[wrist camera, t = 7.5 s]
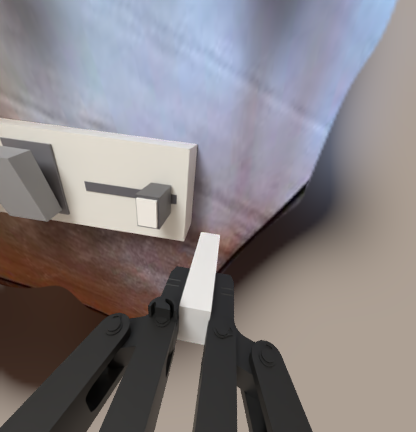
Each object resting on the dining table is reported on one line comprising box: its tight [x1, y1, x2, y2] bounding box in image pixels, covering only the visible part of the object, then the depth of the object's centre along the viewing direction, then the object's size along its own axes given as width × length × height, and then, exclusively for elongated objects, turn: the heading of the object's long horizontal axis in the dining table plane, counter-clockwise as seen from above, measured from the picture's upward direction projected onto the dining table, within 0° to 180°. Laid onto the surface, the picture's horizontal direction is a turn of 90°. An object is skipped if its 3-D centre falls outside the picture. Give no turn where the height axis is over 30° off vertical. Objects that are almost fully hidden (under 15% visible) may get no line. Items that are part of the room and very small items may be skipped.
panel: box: [0, 118, 197, 241], centre depth 25 cm, size 30×12×5 cm, turn 83°
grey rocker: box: [0, 146, 62, 222], centre depth 21 cm, size 5×8×2 cm, turn 173°
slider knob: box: [135, 182, 171, 230], centre depth 20 cm, size 2×4×4 cm, turn 173°
